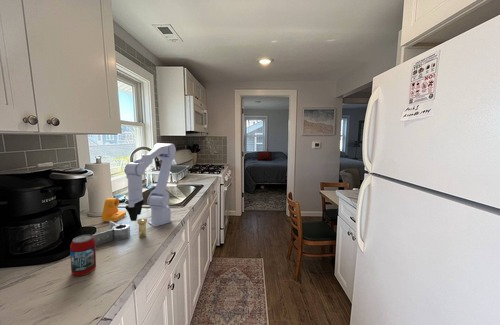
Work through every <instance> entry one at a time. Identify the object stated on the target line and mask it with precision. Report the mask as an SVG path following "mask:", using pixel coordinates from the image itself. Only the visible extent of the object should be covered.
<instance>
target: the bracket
mask: <svg viewBox="0 0 500 325" xmlns="http://www.w3.org/2000/svg"><path fill="white" fill-rule="evenodd" d="M119 205H120V199H119V198H118V197H107V198H106V199H105V201H104V204H103V209H102V214H101V221H102V222H109V221H112V222H120V221H121V220H122V219H124V218H125V217H126V215H127V210H125V211H123V210H119V209H118V207H119Z"/></svg>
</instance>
